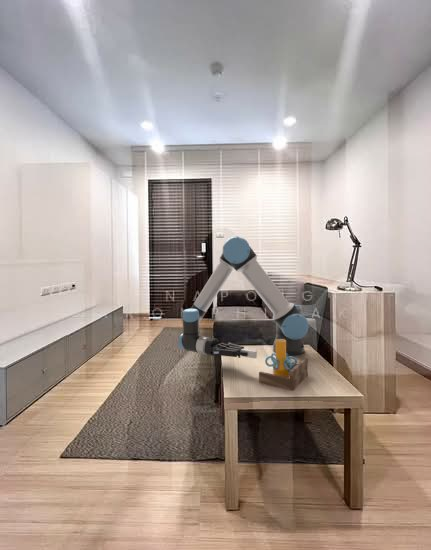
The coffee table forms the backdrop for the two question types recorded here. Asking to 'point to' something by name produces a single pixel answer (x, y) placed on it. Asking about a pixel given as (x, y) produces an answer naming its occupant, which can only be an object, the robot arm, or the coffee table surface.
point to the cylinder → (281, 359)
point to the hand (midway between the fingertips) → (255, 354)
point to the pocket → (292, 382)
